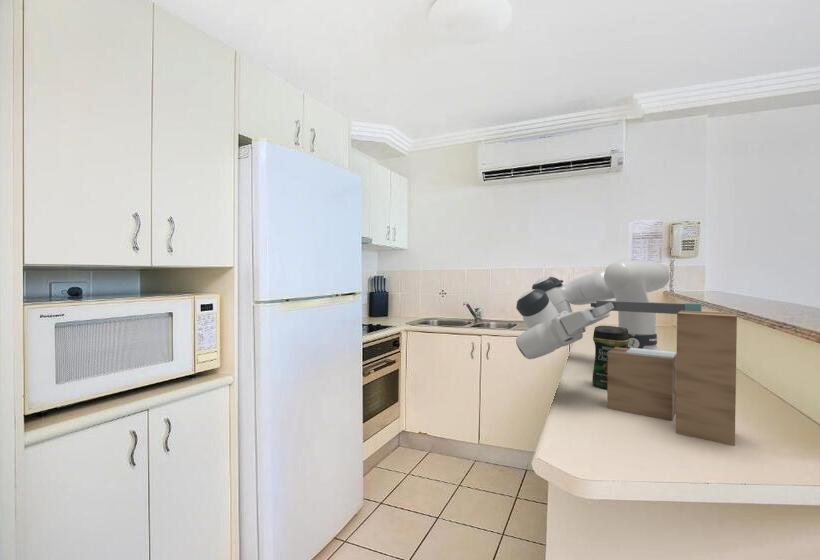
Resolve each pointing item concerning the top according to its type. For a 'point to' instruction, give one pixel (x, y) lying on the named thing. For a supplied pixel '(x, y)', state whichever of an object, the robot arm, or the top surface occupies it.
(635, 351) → the notepad
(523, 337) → the robot arm
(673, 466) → the top surface
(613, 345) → the coffee jar
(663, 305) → the marker
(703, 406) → the walnut stand
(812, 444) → the top surface
